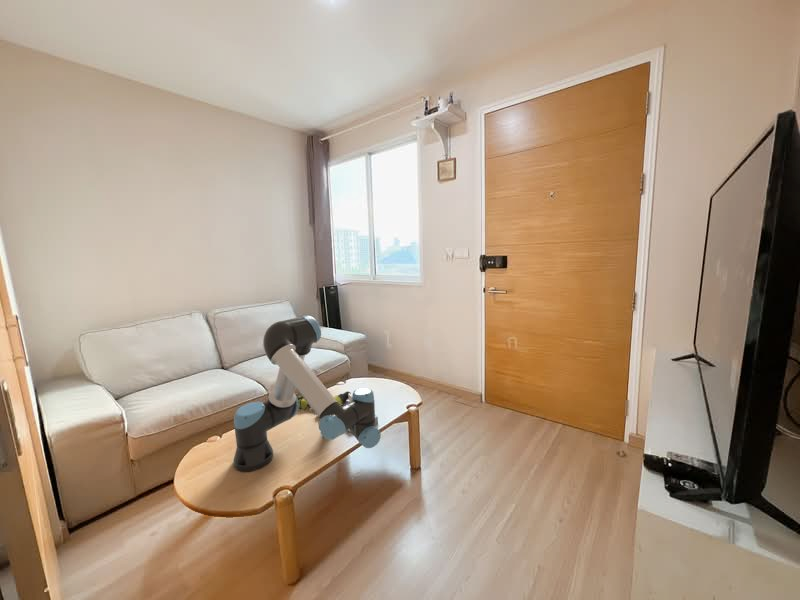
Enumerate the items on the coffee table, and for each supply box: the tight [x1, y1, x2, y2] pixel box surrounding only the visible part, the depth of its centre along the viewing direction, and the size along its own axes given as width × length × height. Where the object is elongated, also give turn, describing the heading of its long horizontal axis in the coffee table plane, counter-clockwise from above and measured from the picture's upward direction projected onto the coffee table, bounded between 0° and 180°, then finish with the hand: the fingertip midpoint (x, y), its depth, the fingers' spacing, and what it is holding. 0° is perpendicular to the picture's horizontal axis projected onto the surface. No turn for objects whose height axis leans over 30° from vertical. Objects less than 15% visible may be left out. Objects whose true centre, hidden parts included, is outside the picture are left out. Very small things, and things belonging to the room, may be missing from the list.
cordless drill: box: [296, 391, 352, 410], centre depth 185 cm, size 7×25×25 cm
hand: (334, 400), depth 143 cm, fingers open, 13 cm apart
